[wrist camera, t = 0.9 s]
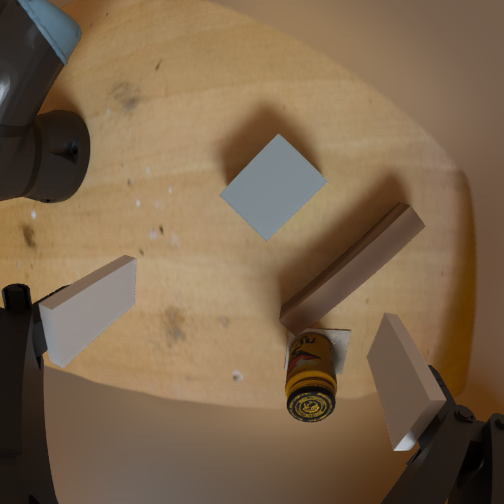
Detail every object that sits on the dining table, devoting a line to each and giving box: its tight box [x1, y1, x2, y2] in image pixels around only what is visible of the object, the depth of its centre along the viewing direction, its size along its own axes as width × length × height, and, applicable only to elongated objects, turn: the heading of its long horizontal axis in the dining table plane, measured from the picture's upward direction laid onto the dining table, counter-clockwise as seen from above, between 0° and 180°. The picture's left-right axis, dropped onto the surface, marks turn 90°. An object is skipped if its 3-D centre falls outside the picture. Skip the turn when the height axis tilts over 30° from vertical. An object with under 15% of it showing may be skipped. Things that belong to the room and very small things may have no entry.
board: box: [279, 202, 425, 337], centre depth 33 cm, size 3×20×4 cm, turn 134°
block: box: [220, 133, 328, 241], centre depth 32 cm, size 7×9×5 cm
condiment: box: [285, 328, 351, 422], centre depth 33 cm, size 7×8×12 cm
